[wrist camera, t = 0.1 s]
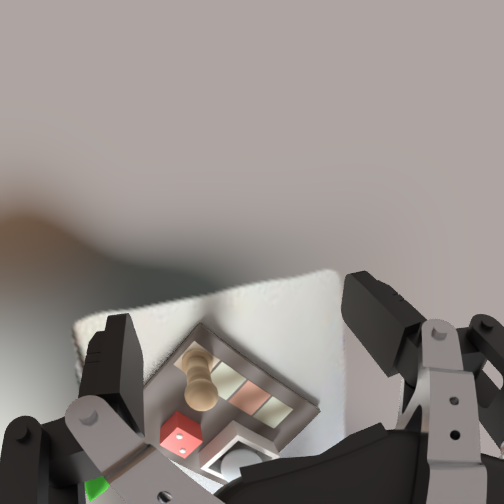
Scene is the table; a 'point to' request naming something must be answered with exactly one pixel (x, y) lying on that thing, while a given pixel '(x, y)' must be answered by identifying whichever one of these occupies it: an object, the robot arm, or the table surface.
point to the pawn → (199, 380)
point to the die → (180, 435)
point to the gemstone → (95, 487)
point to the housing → (227, 440)
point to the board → (223, 400)
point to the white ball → (237, 463)
